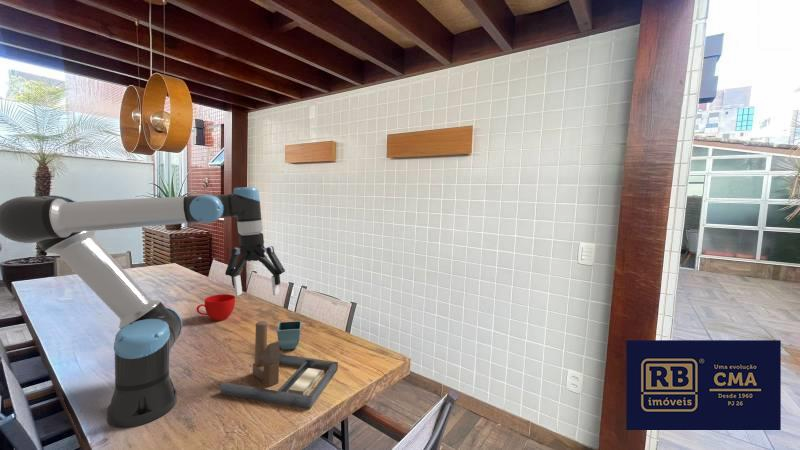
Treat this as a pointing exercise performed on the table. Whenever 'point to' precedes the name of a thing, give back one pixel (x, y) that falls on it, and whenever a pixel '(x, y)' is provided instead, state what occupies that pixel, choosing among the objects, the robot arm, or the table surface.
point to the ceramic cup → (218, 306)
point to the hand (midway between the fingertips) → (257, 294)
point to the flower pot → (289, 334)
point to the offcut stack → (306, 381)
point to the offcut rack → (287, 384)
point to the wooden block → (266, 356)
